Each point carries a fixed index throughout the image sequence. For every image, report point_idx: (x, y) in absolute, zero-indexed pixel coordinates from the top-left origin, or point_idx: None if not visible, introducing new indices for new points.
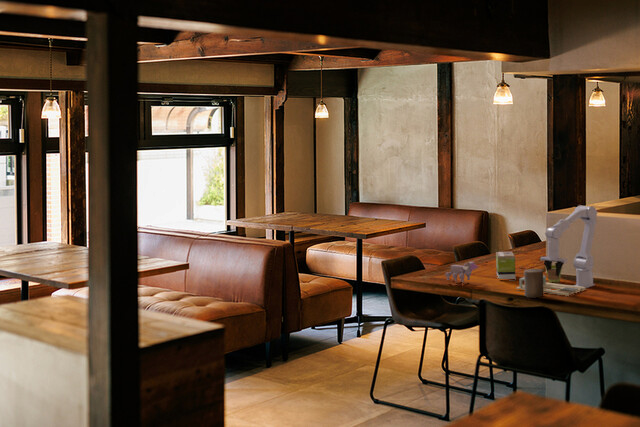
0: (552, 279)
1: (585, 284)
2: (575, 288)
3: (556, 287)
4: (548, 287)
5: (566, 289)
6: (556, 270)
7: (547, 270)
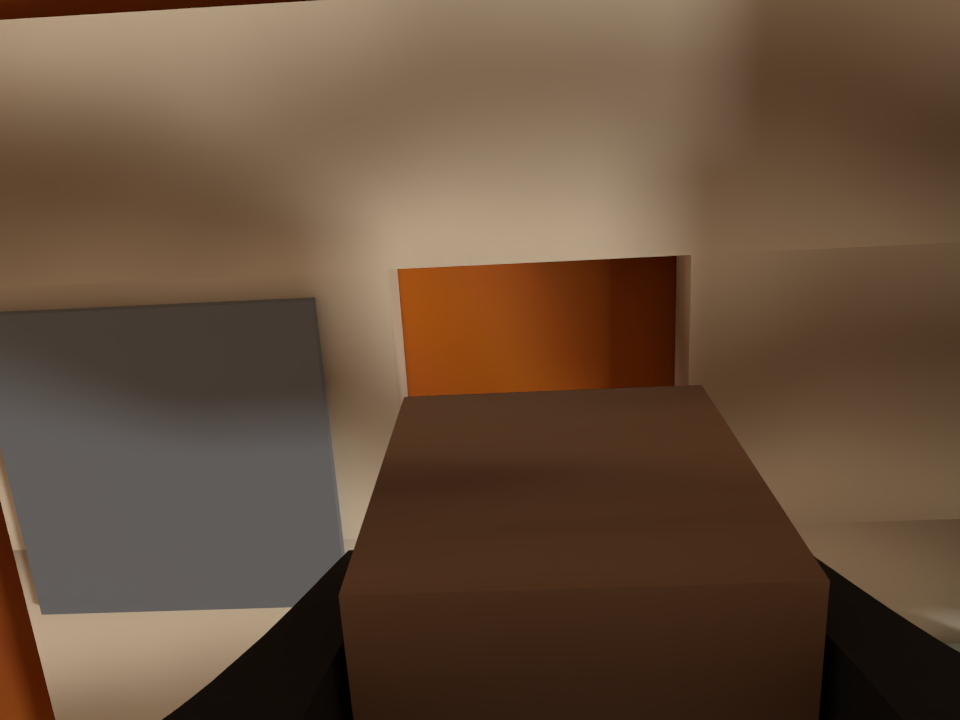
0: (525, 394)
1: None
2: (152, 657)
3: None
4: None
5: (194, 419)
6: (311, 661)
7: (887, 620)
